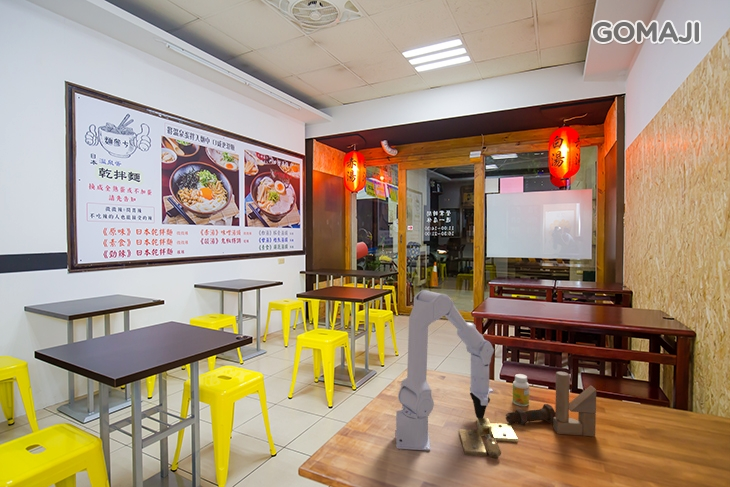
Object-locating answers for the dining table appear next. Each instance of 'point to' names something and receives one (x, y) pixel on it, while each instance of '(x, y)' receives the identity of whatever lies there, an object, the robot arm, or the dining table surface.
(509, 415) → the bolt
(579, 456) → the dining table surface
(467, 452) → the fixed leaf
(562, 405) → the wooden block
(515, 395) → the supplement bottle
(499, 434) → the loose leaf
